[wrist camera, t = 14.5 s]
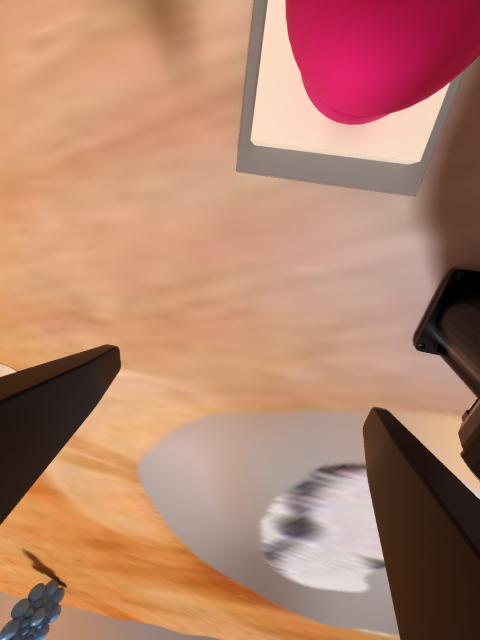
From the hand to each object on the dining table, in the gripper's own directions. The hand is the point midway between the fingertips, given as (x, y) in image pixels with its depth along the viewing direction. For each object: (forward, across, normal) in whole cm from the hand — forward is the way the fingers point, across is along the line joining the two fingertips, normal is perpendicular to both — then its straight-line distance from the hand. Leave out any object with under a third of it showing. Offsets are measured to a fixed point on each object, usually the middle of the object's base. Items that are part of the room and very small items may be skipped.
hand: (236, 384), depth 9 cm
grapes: (+13, +37, +82) cm, 91 cm away
